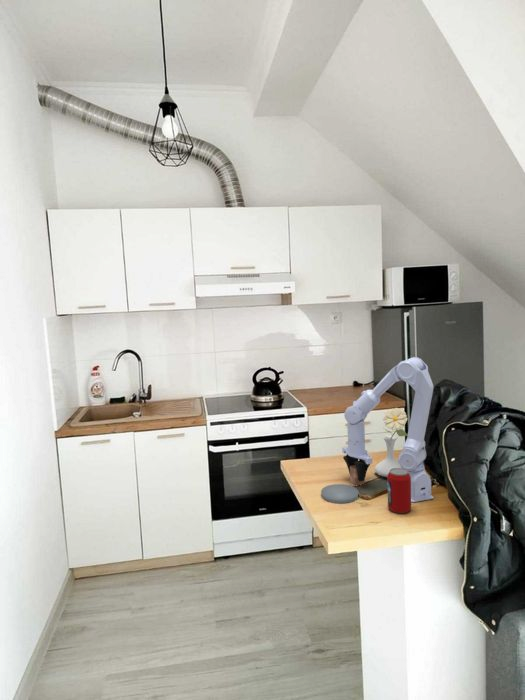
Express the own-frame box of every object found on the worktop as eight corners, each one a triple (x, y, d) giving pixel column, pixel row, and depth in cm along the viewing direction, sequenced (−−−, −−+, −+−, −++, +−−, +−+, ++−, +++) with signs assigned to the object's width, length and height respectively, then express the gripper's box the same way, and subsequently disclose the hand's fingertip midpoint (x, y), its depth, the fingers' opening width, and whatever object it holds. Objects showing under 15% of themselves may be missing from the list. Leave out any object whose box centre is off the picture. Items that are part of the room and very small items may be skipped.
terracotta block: (364, 484, 164) (364, 467, 163) (355, 486, 163) (354, 469, 162) (359, 481, 167) (359, 464, 166) (350, 482, 166) (349, 465, 165)
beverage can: (393, 503, 148) (392, 465, 147) (414, 508, 144) (414, 469, 143) (384, 511, 143) (383, 472, 142) (405, 516, 139) (405, 476, 137)
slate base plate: (365, 499, 151) (365, 495, 151) (330, 506, 148) (330, 501, 148) (348, 486, 163) (348, 482, 163) (315, 491, 159) (315, 487, 159)
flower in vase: (367, 474, 172) (366, 407, 170) (387, 466, 179) (386, 401, 177) (398, 484, 162) (396, 412, 160) (417, 476, 169) (417, 406, 167)
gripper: (379, 443, 158) (380, 482, 160) (353, 433, 171) (354, 469, 173) (361, 446, 155) (362, 487, 157) (336, 436, 168) (338, 473, 170)
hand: (357, 478), depth 165 cm, fingers open, 4 cm apart
